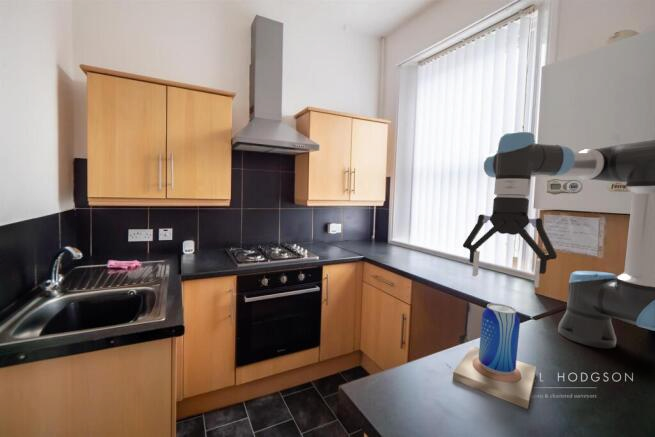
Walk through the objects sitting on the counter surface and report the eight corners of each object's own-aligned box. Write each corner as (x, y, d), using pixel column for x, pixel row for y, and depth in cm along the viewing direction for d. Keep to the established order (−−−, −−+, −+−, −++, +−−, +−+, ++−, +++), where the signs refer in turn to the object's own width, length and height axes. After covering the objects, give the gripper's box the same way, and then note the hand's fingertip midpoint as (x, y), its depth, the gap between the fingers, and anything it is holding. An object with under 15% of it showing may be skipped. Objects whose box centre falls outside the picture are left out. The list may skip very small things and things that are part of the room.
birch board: (535, 373, 81) (536, 365, 81) (527, 409, 67) (528, 398, 67) (471, 352, 91) (472, 344, 91) (452, 379, 77) (453, 370, 77)
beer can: (520, 379, 74) (527, 316, 73) (483, 374, 76) (489, 312, 74) (507, 361, 82) (513, 304, 81) (474, 356, 84) (479, 300, 82)
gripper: (454, 195, 80) (448, 273, 82) (575, 198, 65) (566, 295, 66) (462, 195, 86) (457, 269, 88) (575, 198, 70) (566, 288, 72)
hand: (504, 280), depth 77 cm, fingers open, 13 cm apart
